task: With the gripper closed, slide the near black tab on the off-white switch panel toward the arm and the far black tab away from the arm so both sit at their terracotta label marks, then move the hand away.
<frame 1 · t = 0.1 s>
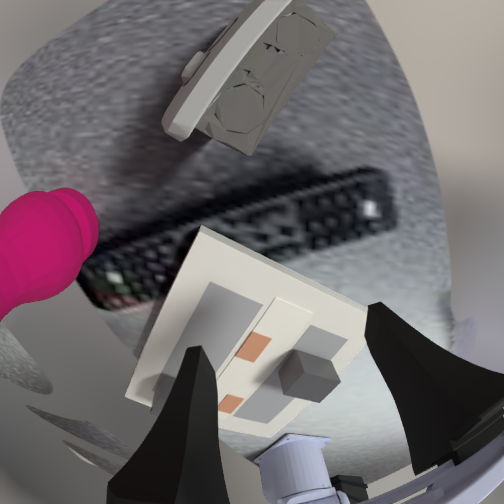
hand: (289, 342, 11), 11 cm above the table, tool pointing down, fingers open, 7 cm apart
tab one: (308, 377, 22), point 3 cm above the table, slide at 0.0 cm
tab two: (177, 401, 22), point 3 cm above the table, slide at 0.0 cm
electrical switch: (232, 82, 17), on the table
pepper mill: (68, 224, 19), on the table
switch panel: (244, 360, 25), on the table
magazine: (342, 477, 43), on the table
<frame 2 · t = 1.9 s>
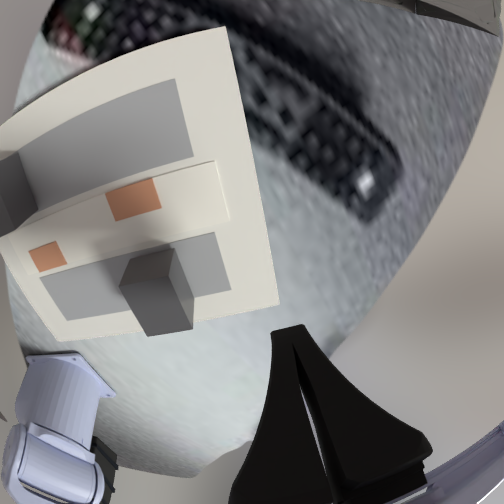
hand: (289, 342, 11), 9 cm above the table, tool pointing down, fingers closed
tab one: (159, 293, 16), point 3 cm above the table, slide at 0.0 cm
tab two: (1, 197, 11), point 3 cm above the table, slide at 0.0 cm
switch panel: (104, 216, 16), on the table
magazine: (99, 442, 37), on the table
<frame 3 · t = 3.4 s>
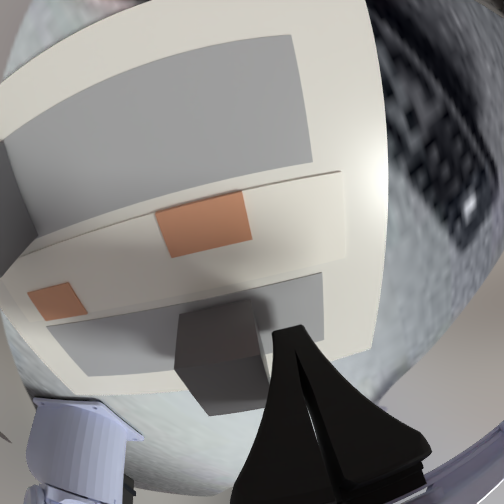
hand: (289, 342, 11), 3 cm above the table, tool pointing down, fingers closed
tab one: (228, 363, 11), point 3 cm above the table, slide at 0.6 cm, touching gripper
switch panel: (144, 244, 11), on the table
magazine: (115, 470, 32), on the table
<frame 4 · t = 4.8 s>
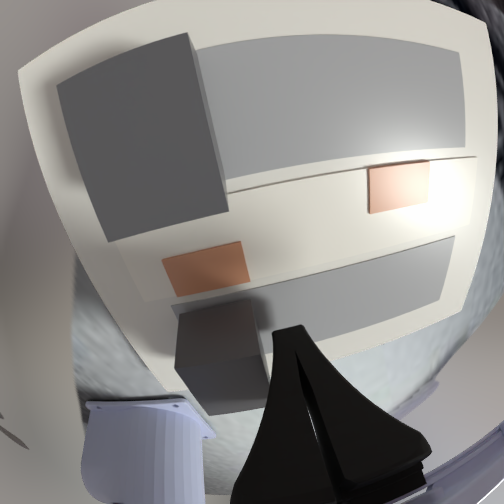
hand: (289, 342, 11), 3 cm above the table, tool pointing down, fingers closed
tab one: (228, 362, 11), point 3 cm above the table, slide at 8.2 cm, touching gripper
tab two: (151, 134, 6), point 3 cm above the table, slide at 0.0 cm
switch panel: (319, 204, 11), on the table
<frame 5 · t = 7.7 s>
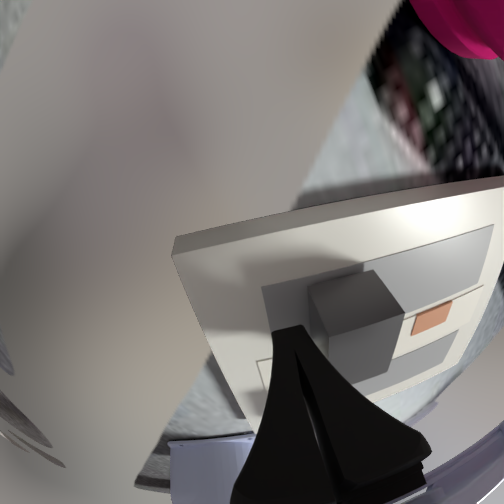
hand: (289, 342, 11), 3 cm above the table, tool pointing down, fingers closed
tab one: (317, 421, 16), point 3 cm above the table, slide at 8.2 cm
tab two: (351, 333, 11), point 3 cm above the table, slide at 1.3 cm, touching gripper
pepper mill: (446, 4, 6), on the table
switch panel: (380, 325, 16), on the table
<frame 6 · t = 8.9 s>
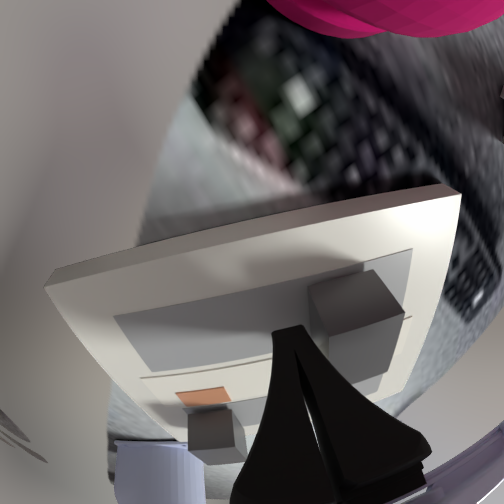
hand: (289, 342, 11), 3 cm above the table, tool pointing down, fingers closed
tab one: (218, 439, 16), point 3 cm above the table, slide at 8.2 cm
tab two: (351, 333, 11), point 3 cm above the table, slide at 8.1 cm, touching gripper
switch panel: (278, 353, 16), on the table
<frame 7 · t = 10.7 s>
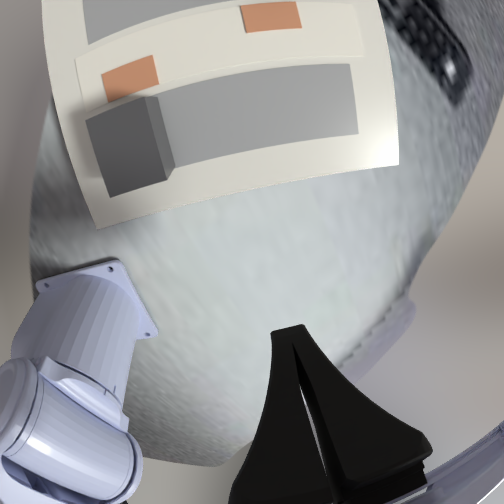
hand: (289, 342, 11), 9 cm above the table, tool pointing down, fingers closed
tab one: (133, 143, 12), point 3 cm above the table, slide at 8.2 cm
switch panel: (218, 43, 12), on the table
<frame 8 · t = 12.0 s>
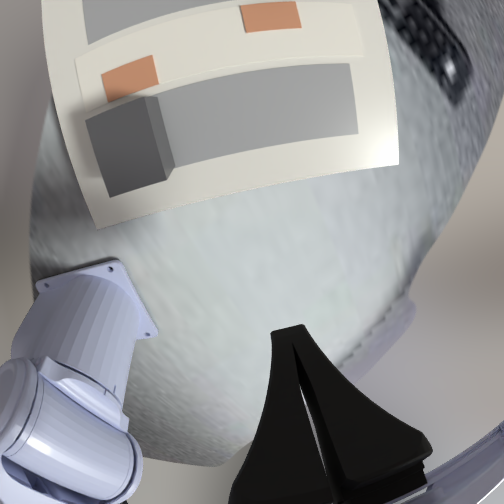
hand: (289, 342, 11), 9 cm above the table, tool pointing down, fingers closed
tab one: (132, 143, 12), point 3 cm above the table, slide at 8.2 cm
switch panel: (217, 43, 12), on the table
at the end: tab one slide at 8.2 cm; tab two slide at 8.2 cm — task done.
